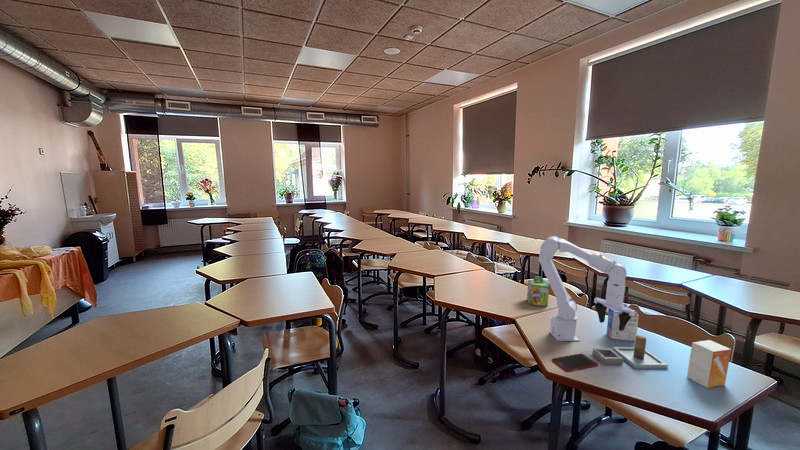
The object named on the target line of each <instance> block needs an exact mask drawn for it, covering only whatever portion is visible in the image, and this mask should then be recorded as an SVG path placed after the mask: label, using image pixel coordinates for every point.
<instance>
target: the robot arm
mask: <svg viewBox="0 0 800 450" xmlns="http://www.w3.org/2000/svg"><path fill="white" fill-rule="evenodd" d="M539 249H540V251H539V254H538V255H539V256H538V261H539V264H540V267H541V268H542V270H543V273H544V274H545V277H546V279H547V281H548V283H549V284H548V285H550V286H549V287H550V288H551V290H552V292H553V294H554V296H555V301H556V305H557V309H558V314H557V315H555V316H552V317H551V318H550V325H549V331H548V333H549V334H550V335H551V336H552V337H553V338H554V339H555V340H556V341H558V342H559V341H563V342H565V341H566V342H567V341H568V342H569V341H570V342H579V341H580V339H579V338H578V337H577V336H576V332H577V331H576V330H577V321H578V320H577V319H578V317H577V315H576V312H577V310H578V304H577V303H576V301H575V300H573V298H572V297H571V295H570V294H569V293H568V290H566V287H565V284H564V283H563V280H562V278H561V276H560V274H559V272H558V270H557V268H556V266H555V263H554V261H553V258H554V256H555V254H556V253H557V252H558V253H569V254H571V255H573V256H576V257H578V258H579V259H583V260H584V261H586V262H587V264H588V266H590V267H591V268H594V269H596V270H597V271H600V272H602V273H604V274H607V275H608V280H607V282H606V283H607V284H606V285H607V286H606V292H605V293H606V294H605V299H603V298H600V297H595V298H594V301H593V303H594V308H595V310H596V313H597V315H598V320H599V323H601V324H603V323H604V322H605V321H606V313H607V310H608V309H609V308H612V309H615V310H617V311H620V312H622V313H620V314H619V322H620V323H619V330H620V331H622V330H624V328H625V326H626V324H627V322H628V321H629V320H630V318H631V317H632V316H634V315H635V312H636V310H634V309H632V308H630V307H628V306H627V307H626V306H624V305H623V304H624V296H625V290H626V289H625V287H626V283H625V282H626V278H627V277H628V274H627V268H626V266H625V265H624V264H622V263H621V262H617V260H613V259H610V258H607V257H605V256H604V254H603V253H597V252H596V253H595V252H594V253H590V252H589V251H587V250H585V249H582V248H581V247H579V246H578V245H576V244H574V243H572V242H570V241H567V240H566V239H564V238H560V237H558V236H556V235H551V236H549V237H547V239H544V241H543V242H542V243H541V245H540V247H539Z"/></svg>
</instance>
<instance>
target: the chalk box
mask: <svg viewBox="0 0 800 450" xmlns="http://www.w3.org/2000/svg"><path fill="white" fill-rule="evenodd" d="M533 278H534V279H532V280H528V281H527V292H526V300H527V302H528V304H529V305H530V306H537V307H546V306H547V307H548V304H549V296H550V295H549V293H550V286H549V284H548V283H547V282H545V281H544V277H543V276H534V277H533Z"/></svg>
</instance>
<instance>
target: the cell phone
mask: <svg viewBox="0 0 800 450" xmlns="http://www.w3.org/2000/svg"><path fill="white" fill-rule="evenodd" d="M551 362H552V363H554V364H555V365H556V366H558V367H559V368H560V369H562V371H564V372H567V373H568V372H574V371H579V370H584V369H589V368H594V367H598V366H599V363H598V362H596V361H594V360H593V359H592V358H590V357H588V356H586V355H585V354H583V353H575V354H569V355H565V356H559V357H554V358H552V359H551Z"/></svg>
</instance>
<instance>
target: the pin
mask: <svg viewBox="0 0 800 450" xmlns="http://www.w3.org/2000/svg"><path fill="white" fill-rule="evenodd" d="M646 345H647V337H646V336H643V335H639V334H637V335H636V339H635V341H634V357H635V358H637V359H641V360H643V359H644V355H645V349H646Z"/></svg>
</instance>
